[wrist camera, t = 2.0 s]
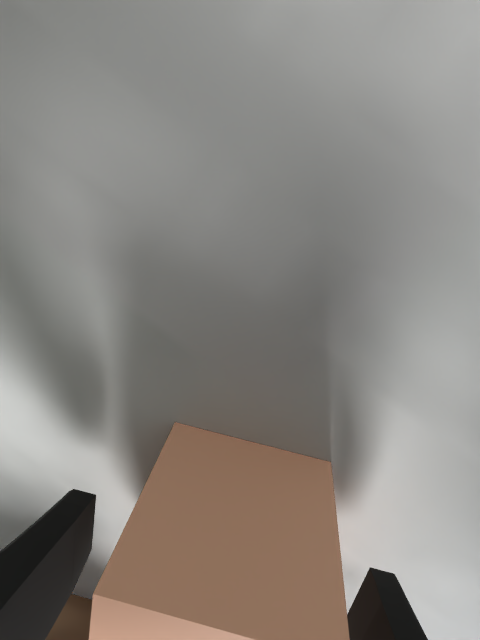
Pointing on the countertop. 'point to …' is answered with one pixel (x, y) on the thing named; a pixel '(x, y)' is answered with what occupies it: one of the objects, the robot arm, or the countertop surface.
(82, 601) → the walnut base block
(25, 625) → the robot arm
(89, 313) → the countertop surface
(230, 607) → the terracotta block
